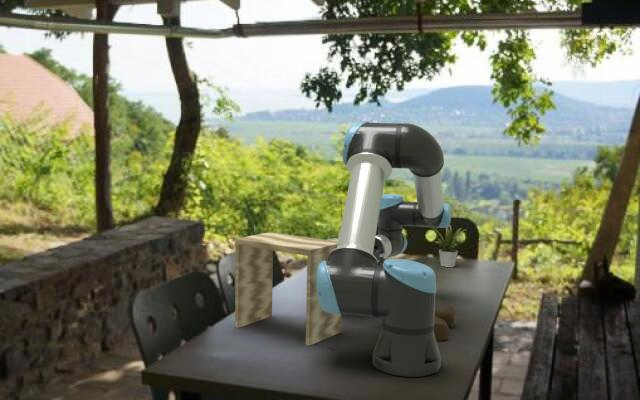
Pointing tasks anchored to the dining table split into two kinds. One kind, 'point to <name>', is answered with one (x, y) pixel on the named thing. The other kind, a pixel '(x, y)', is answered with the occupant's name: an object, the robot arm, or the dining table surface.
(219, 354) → the dining table surface
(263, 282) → the plywood stool
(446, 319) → the kendama
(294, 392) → the dining table surface
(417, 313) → the robot arm
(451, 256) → the house plant
